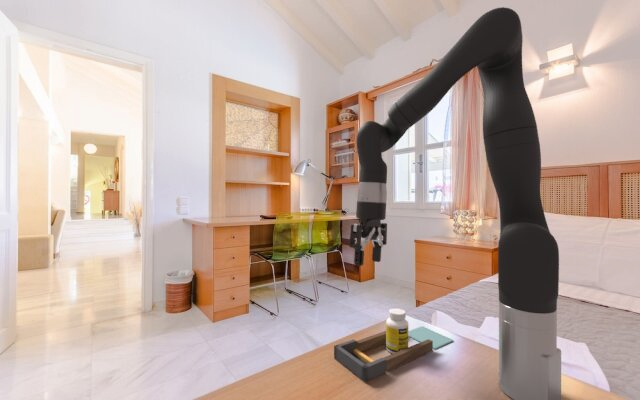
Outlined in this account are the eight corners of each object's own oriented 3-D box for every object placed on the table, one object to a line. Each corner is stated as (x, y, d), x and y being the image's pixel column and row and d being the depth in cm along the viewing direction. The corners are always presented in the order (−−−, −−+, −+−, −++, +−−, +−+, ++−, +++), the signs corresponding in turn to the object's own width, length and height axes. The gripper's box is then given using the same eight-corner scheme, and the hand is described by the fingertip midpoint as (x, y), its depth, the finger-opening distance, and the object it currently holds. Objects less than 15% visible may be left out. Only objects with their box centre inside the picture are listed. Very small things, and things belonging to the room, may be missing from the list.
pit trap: (385, 373, 64) (385, 359, 64) (364, 382, 60) (364, 368, 60) (353, 351, 73) (353, 339, 73) (334, 358, 70) (334, 345, 70)
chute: (432, 351, 73) (432, 341, 73) (386, 371, 64) (386, 360, 64) (400, 334, 82) (400, 325, 82) (356, 351, 73) (356, 341, 73)
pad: (453, 341, 78) (453, 339, 78) (434, 349, 74) (434, 348, 74) (422, 327, 86) (422, 326, 86) (403, 334, 82) (403, 333, 82)
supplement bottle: (400, 358, 70) (399, 317, 70) (381, 349, 74) (381, 310, 74) (412, 350, 73) (412, 311, 73) (394, 342, 77) (394, 305, 77)
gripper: (369, 200, 68) (365, 270, 68) (397, 202, 79) (394, 262, 79) (343, 199, 73) (339, 264, 73) (373, 201, 84) (369, 257, 84)
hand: (367, 263), depth 76 cm, fingers open, 8 cm apart
